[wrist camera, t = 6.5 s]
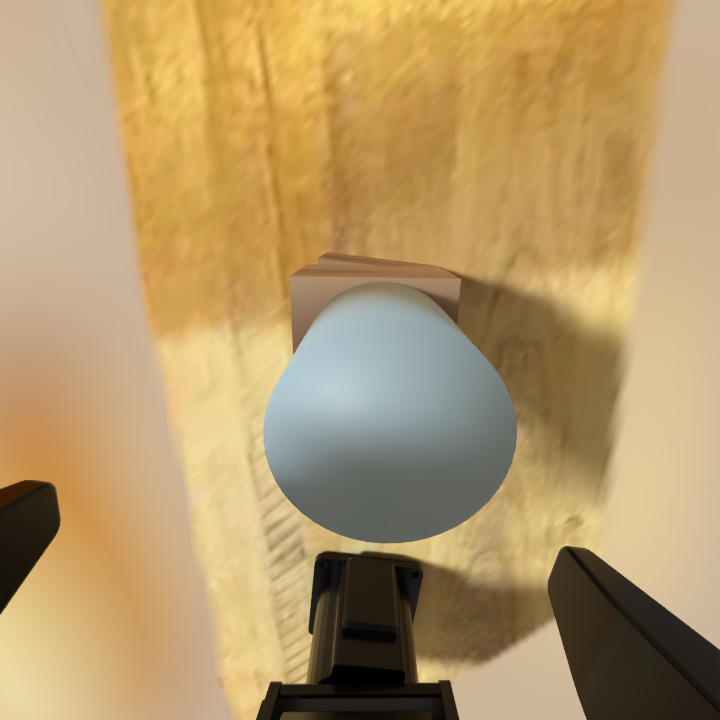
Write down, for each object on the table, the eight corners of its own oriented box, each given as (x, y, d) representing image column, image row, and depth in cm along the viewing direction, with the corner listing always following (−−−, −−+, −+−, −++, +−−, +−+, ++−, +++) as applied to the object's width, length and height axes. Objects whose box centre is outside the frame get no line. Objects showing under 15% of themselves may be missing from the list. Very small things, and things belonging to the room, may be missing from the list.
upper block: (430, 389, 16) (446, 430, 13) (311, 386, 16) (296, 427, 13) (440, 266, 15) (461, 278, 11) (307, 264, 15) (289, 276, 11)
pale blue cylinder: (439, 437, 13) (479, 557, 8) (297, 415, 13) (254, 525, 8) (475, 295, 11) (551, 344, 7) (314, 269, 11) (274, 299, 7)
